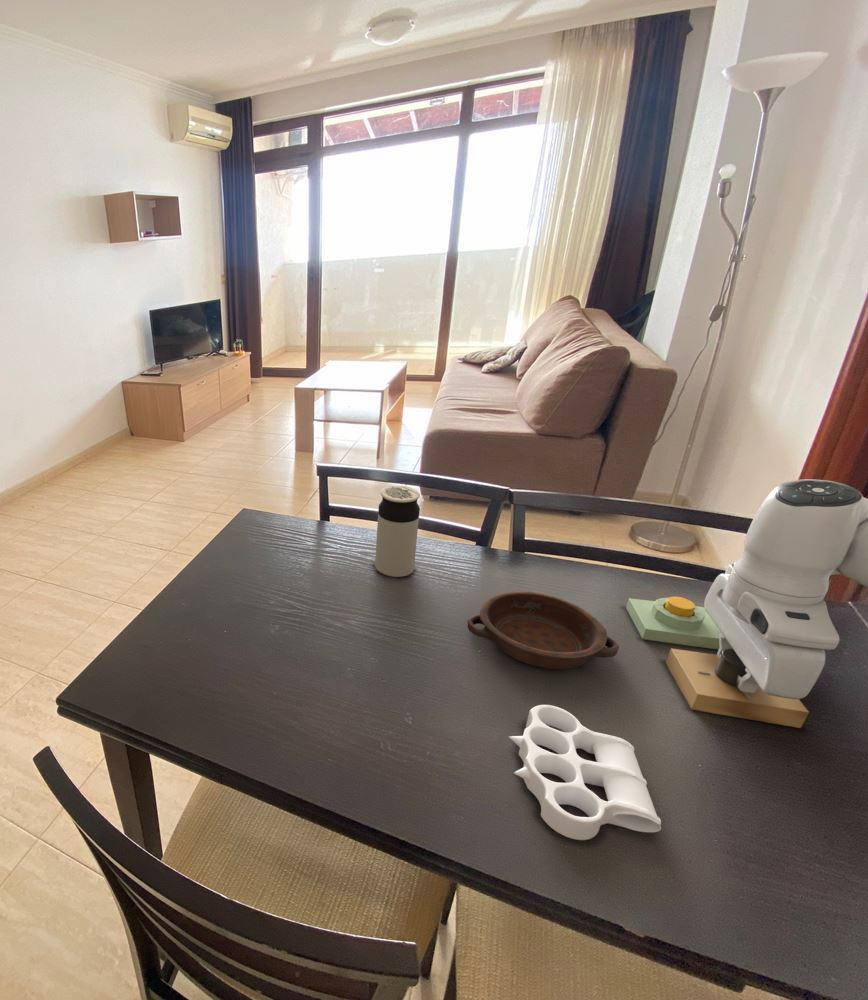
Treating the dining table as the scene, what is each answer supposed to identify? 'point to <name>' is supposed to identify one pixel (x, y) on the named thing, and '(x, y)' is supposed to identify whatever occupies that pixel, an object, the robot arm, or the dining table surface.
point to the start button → (680, 606)
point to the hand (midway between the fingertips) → (734, 674)
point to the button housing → (673, 624)
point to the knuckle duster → (583, 776)
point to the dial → (730, 667)
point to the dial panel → (728, 692)
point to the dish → (542, 630)
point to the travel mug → (397, 531)
